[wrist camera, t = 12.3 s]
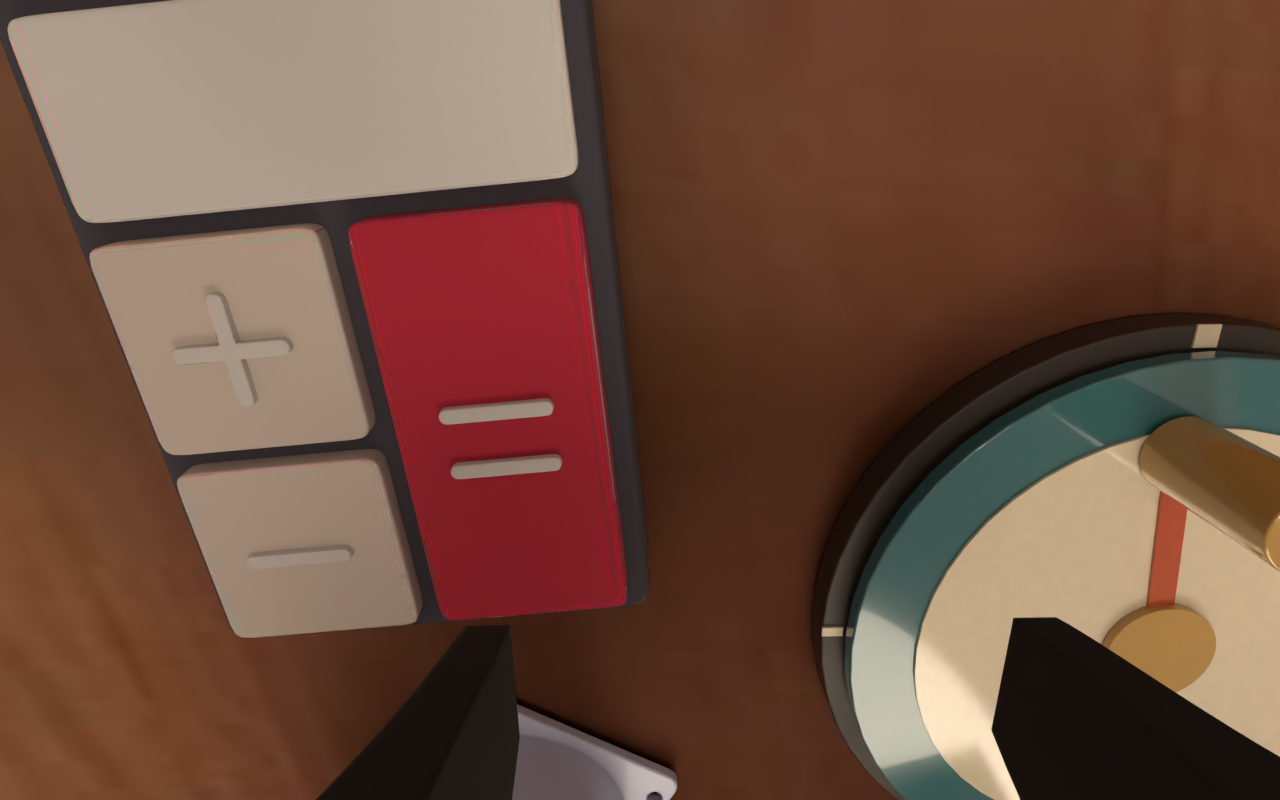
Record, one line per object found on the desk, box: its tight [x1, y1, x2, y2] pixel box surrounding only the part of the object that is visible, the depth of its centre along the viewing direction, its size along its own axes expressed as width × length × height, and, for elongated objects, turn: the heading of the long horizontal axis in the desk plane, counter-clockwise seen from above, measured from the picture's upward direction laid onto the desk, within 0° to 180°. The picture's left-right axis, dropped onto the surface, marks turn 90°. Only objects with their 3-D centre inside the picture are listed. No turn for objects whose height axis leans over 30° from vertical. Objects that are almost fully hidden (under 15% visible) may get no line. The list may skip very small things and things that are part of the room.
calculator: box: [0, 0, 649, 638], centre depth 18 cm, size 11×4×15 cm
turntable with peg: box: [845, 351, 1280, 800], centre depth 19 cm, size 17×17×5 cm
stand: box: [812, 313, 1280, 800], centre depth 22 cm, size 18×18×1 cm
